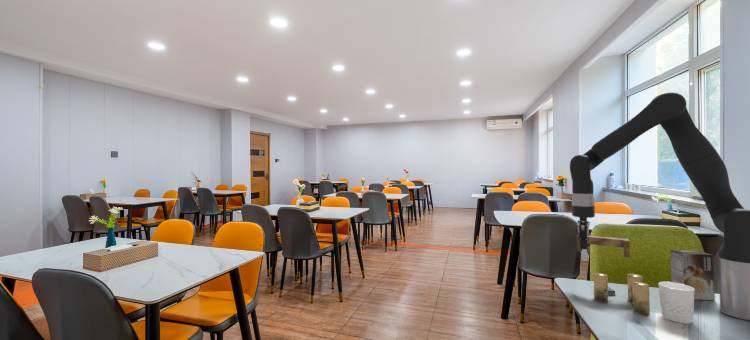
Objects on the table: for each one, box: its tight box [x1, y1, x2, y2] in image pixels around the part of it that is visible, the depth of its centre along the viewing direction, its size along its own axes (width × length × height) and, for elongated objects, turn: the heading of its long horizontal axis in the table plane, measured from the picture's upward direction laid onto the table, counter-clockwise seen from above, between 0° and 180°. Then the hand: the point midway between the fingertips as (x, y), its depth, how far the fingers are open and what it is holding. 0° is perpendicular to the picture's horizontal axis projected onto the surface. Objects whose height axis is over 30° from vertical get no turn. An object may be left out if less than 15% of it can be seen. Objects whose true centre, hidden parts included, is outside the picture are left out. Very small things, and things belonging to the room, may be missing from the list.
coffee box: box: [670, 249, 716, 301], centre depth 112 cm, size 9×6×16 cm
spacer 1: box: [593, 272, 609, 303], centre depth 109 cm, size 4×4×9 cm
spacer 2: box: [627, 273, 644, 304], centre depth 107 cm, size 4×4×9 cm
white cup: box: [658, 281, 695, 325], centre depth 94 cm, size 8×8×10 cm
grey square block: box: [608, 286, 616, 296], centre depth 115 cm, size 4×4×2 cm
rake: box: [576, 234, 631, 258], centre depth 119 cm, size 16×5×6 cm, turn 53°
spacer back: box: [632, 282, 651, 316], centre depth 99 cm, size 4×4×9 cm
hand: (584, 248), depth 123 cm, fingers closed on rake, 3 cm apart
